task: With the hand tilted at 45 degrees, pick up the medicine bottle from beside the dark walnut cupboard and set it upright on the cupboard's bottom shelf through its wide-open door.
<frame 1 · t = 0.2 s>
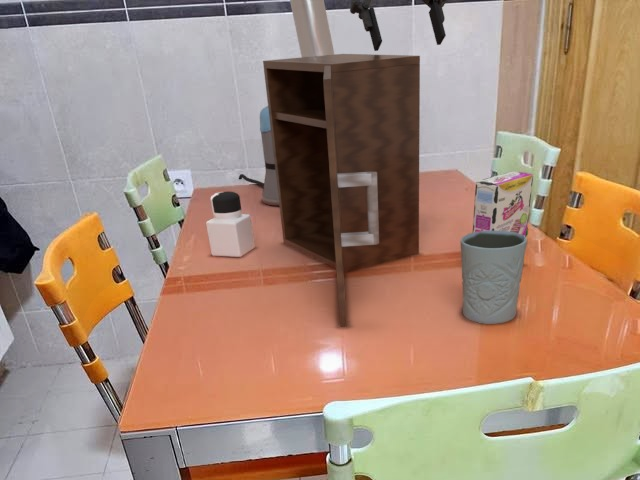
hand: (410, 43, 126), 36 cm above the table, tool tilted 35°, fingers open, 13 cm apart
cupboard: (348, 248, 139), on the table
food carton: (497, 271, 123), on the table
polyhedron: (514, 244, 137), on the table
cupboard door: (353, 193, 105), point 17 cm above the table, hinge at 150.0°
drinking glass: (488, 314, 106), on the table
medicine bottle: (233, 252, 141), on the table
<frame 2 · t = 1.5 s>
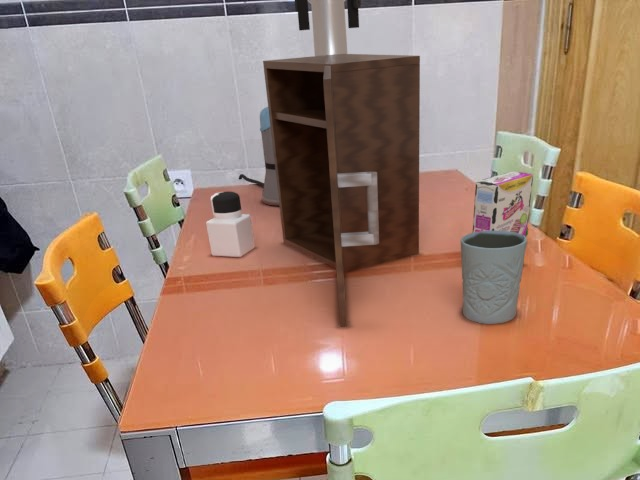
hand: (328, 29, 139), 38 cm above the table, tool pointing down, fingers open, 13 cm apart
nothing on the table moved.
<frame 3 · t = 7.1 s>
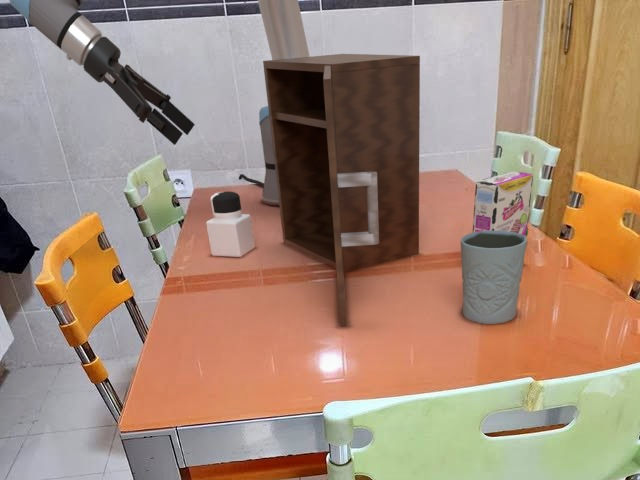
hand: (185, 134, 134), 22 cm above the table, tool tilted 45°, fingers open, 13 cm apart
nothing on the table moved.
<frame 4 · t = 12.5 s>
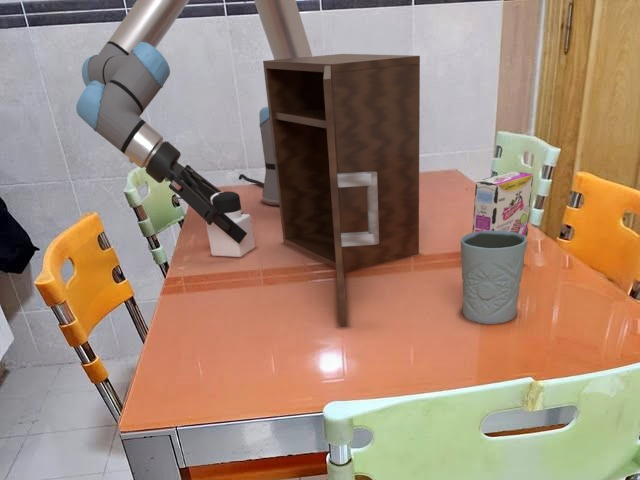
hand: (245, 232, 139), 4 cm above the table, tool tilted 45°, fingers closed on medicine bottle, 9 cm apart
medicine bottle: (233, 252, 141), on the table, touching gripper
everything else where it was.
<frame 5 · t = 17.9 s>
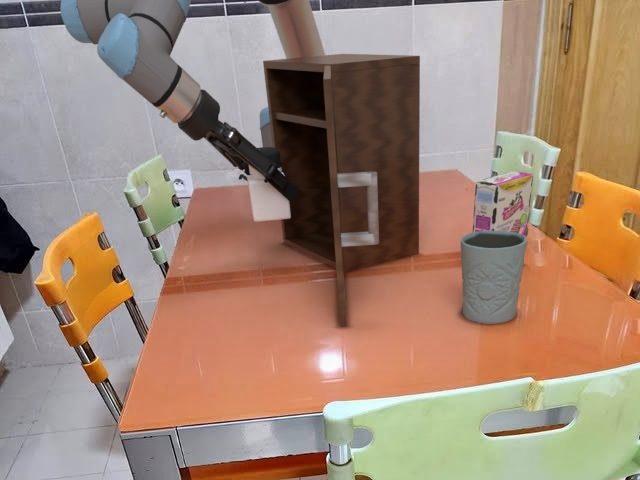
hand: (283, 192, 125), 14 cm above the table, tool tilted 45°, fingers closed on medicine bottle, 9 cm apart
medicine bottle: (271, 217, 127), point 9 cm above the table, touching gripper
everything else where it was.
when the fingers open (5 cm above the table, at t = 23.5 s): medicine bottle stays where it is, resting on cupboard.
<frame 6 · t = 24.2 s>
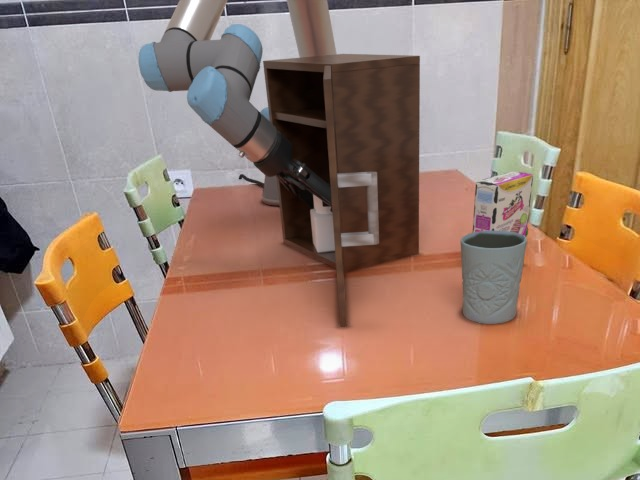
hand: (339, 217, 134), 7 cm above the table, tool tilted 45°, fingers open, 13 cm apart
medicine bottle: (331, 247, 137), point 1 cm above the table, touching cupboard
everything else where it was.
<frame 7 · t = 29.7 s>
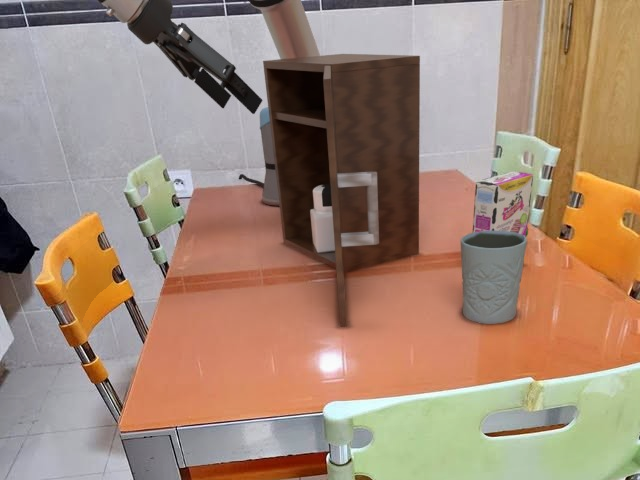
hand: (241, 104, 116), 29 cm above the table, tool tilted 45°, fingers open, 13 cm apart
nothing on the table moved.
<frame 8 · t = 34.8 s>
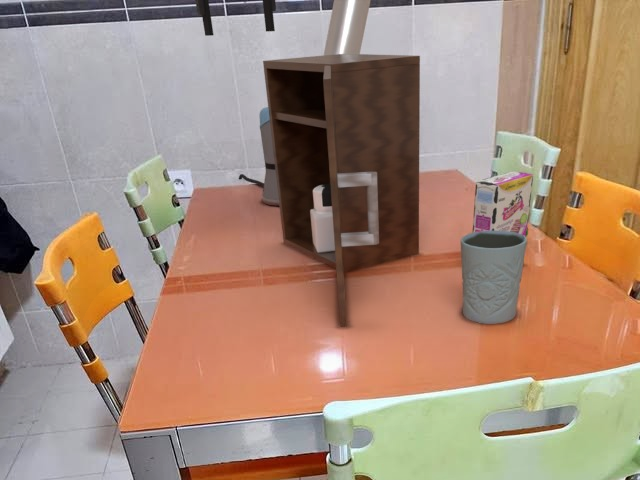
hand: (240, 33, 133), 39 cm above the table, tool pointing down, fingers open, 13 cm apart
nothing on the table moved.
at the end: medicine bottle inside the target area in the cupboard (3.1 cm from its centre), point 1.0 cm above the cupboard's base; medicine bottle tilted 0°; the gripper is holding nothing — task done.
